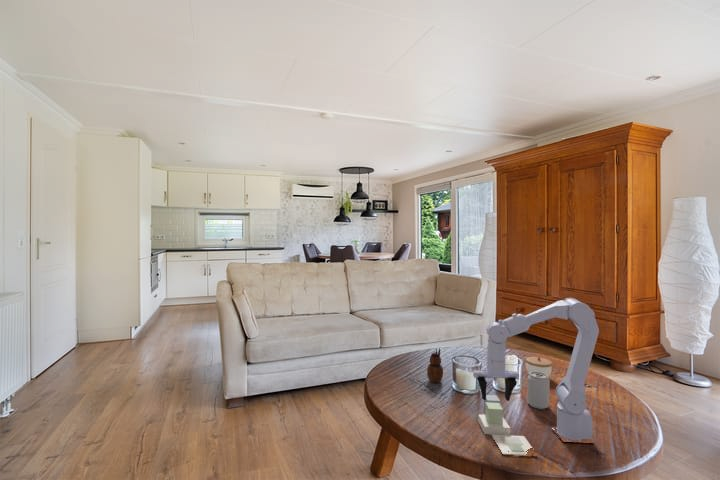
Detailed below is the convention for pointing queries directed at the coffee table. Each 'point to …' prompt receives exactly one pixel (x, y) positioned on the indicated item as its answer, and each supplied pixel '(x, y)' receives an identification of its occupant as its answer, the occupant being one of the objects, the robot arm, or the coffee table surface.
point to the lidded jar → (538, 365)
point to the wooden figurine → (435, 368)
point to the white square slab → (493, 426)
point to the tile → (512, 444)
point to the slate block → (491, 399)
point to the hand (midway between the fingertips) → (495, 399)
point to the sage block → (493, 413)
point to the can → (538, 390)
